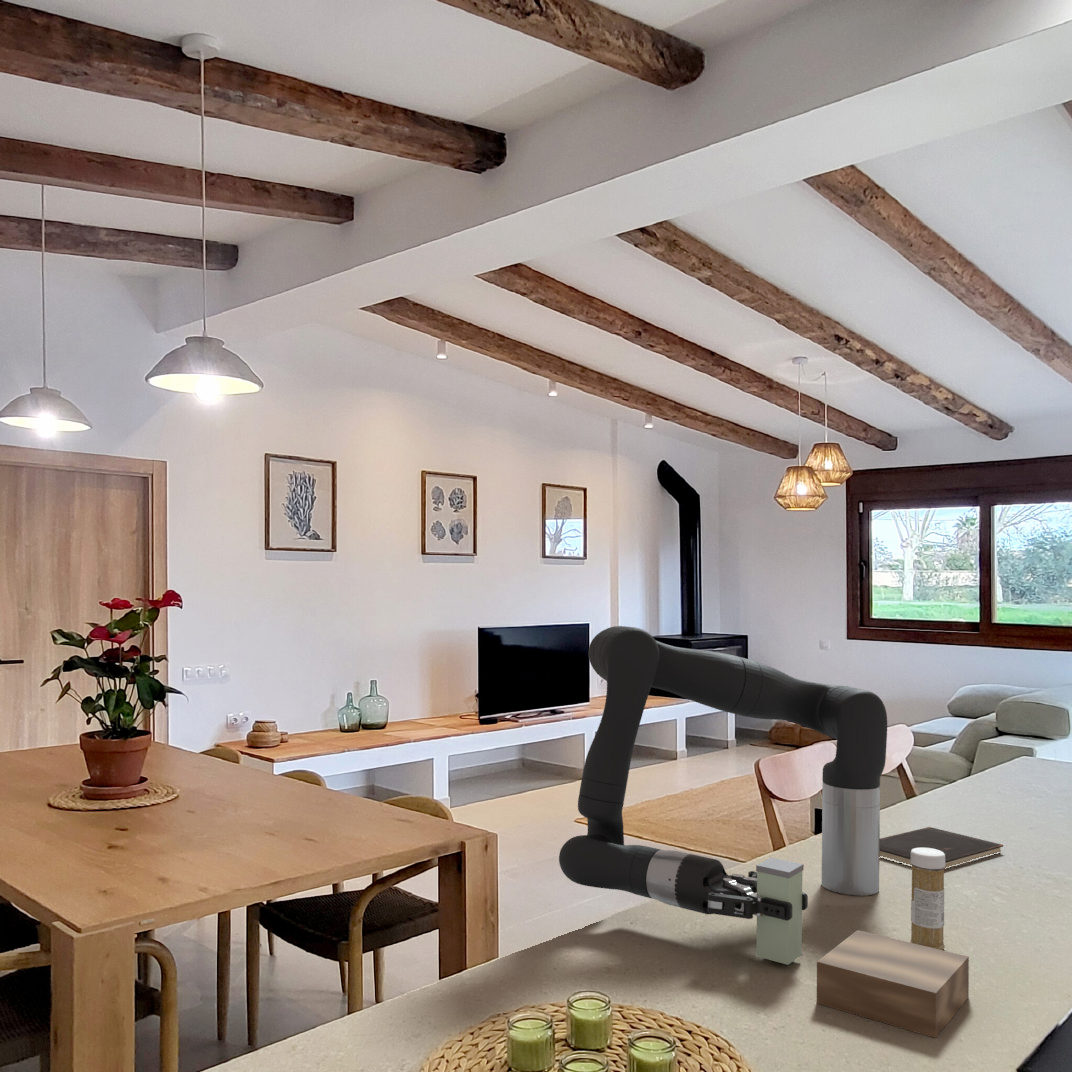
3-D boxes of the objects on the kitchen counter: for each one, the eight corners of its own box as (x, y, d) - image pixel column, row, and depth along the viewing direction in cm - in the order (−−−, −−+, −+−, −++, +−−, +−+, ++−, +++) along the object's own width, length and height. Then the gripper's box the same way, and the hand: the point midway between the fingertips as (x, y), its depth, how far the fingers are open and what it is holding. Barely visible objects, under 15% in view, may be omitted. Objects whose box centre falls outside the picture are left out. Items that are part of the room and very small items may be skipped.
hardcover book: (1003, 857, 189) (1003, 844, 189) (934, 877, 175) (934, 863, 175) (926, 837, 202) (926, 826, 202) (856, 854, 188) (856, 842, 188)
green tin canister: (770, 945, 137) (771, 857, 138) (802, 954, 134) (803, 864, 135) (755, 956, 133) (756, 865, 134) (788, 965, 131) (789, 872, 131)
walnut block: (857, 968, 132) (857, 930, 132) (968, 997, 124) (968, 956, 124) (816, 1003, 121) (816, 961, 121) (935, 1037, 113) (936, 993, 113)
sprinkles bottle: (917, 938, 144) (918, 844, 144) (949, 947, 140) (950, 851, 141) (904, 947, 140) (905, 850, 141) (937, 956, 137) (937, 857, 138)
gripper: (660, 865, 137) (777, 892, 127) (709, 843, 149) (820, 866, 138) (660, 920, 137) (776, 951, 127) (708, 894, 148) (819, 920, 138)
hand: (798, 906), depth 132 cm, fingers closed on green tin canister, 4 cm apart
